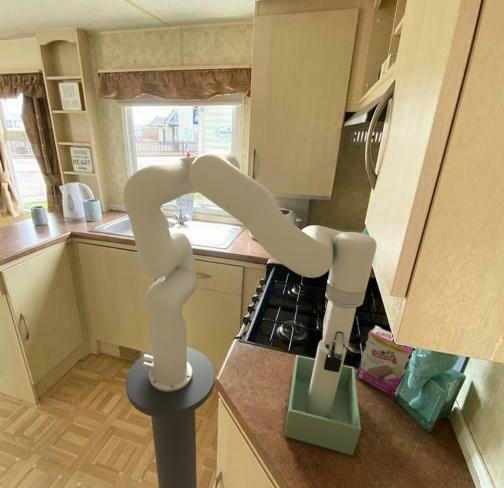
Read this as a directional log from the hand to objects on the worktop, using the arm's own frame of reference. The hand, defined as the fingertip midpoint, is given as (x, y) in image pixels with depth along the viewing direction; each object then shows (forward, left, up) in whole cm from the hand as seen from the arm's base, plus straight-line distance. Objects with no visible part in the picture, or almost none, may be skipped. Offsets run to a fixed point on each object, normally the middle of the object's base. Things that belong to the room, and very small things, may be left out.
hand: (331, 356), depth 72 cm
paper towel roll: (0, 0, -18) cm, 18 cm away
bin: (0, 0, -18) cm, 18 cm away
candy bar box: (+16, +15, -18) cm, 29 cm away
